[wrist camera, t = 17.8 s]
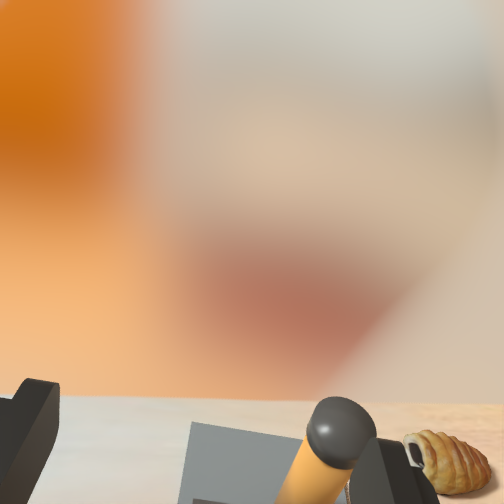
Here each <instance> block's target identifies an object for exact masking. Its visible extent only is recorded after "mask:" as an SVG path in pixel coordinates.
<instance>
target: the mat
mask: <svg viewBox="0 0 504 504" xmlns="http://www.w3.org/2000/svg"><path fill="white" fill-rule="evenodd" d="M302 442H303V440H300V439H294V438H288V437H282V436H276V435H269V434H263V433H257V432H251V431H245V430H239V429H233V428H227V427H221V426H215V425H209V424H202V423H196V422H192V424H191V429H190V435H189V441H188V447H187V453H186V458H185V464H184V470H183V476H182V482H181V487H180V493H179V499H178V504H192V501H193V498H195V499H202V500H208V501H215V502H222V503H228V504H274V502H275V500H276V498H277V496H278V493H279V491H280V489H281V487H282V485H283V483H284V481H285V478H286V476H287V474H288V472H289V470H290V468H291V466H292V464H293V461H294V459H295V457H296V455H297V453H298V451H299V449H300V446H301V444H302ZM334 504H347V501H346V495H345V489H344V488H343V490H342V491H341V493H340V495H339V496H338V498H337V500H336V501H335V503H334Z"/></svg>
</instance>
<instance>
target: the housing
mask: <svg viewBox="0 0 504 504" xmlns="http://www.w3.org/2000/svg"><path fill="white" fill-rule="evenodd" d="M192 504H228V503H222V502H215V501H208V500H202V499H195V498H193V501H192Z"/></svg>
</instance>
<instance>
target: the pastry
mask: <svg viewBox="0 0 504 504" xmlns="http://www.w3.org/2000/svg"><path fill="white" fill-rule="evenodd" d="M403 443H404V447H405V450H406V453H407V456H408V459H409V462H410V465H411V466H416V467H420V468H421V470H422V471H423V473H424V474H425V475H426V477H427V478H428V480H429V481H430V482H431V484H432V485H433V487H434V489H435V491H436V493H438V494H448V495H452V494H462V493H465V492H469V491H474V490H477V489H481V488H482V487H484V486H485V485H486V484H487V483H488V482H489V480H490V478H491V469H490V467H489V465H488V461H487V458H486V457H485V456H484V455H483V454H482V453H481V452H480V451H478V450H477V449H475V448H473V447H472V446H469V445H468V444H467V443H466V442H462V441H459V440H458V439H457V438H456V437H454V436H447V435H446V434H445V433H443V432H438V433H436V434H435V433H433V432H432V431H430V430H422V431H421V432H419V433H412V434H410V435H408V434H407V435H406V436H405V437H404V439H403Z"/></svg>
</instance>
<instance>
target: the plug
mask: <svg viewBox="0 0 504 504" xmlns="http://www.w3.org/2000/svg"><path fill="white" fill-rule="evenodd" d="M376 436H377V433H376V427H375V424H374V422H373V420H372V418H371V417H370V415H369V414H368V413H367V411H366V410H365V409H364V408H362V407H361V406H360V405H359V404H357V403H355V402H354V401H352V400H349V399H347V398H343V397H328V398H325V399H323V400H322V401H320V402H319V403H318V405H317V406H316V408H315V410H314V412H313V414H312V417H311V419H310V421H309V423H308V425H307V431H306V436H305V438H304V440H303V442H302V444H301V446H300V449H299V451H298V453H297V455H296V457H295V459H294V461H293V464H292V466H291V468H290V470H289V472H288V474H287V476H286V478H285V481H284V483H283V485H282V487H281V489H280V491H279V493H278V496H277V498H276V500H275V502H274V504H334V503H335V501H336V500H337V498H338V496H339V495H340V493H341V491H342V490H343V488H344V487H345V485H346V483H347V482H348V480H349V479H350V476H351V473H352V471H353V469H354V467H355V465H356V463H357V461H358V459H359V457H360V455H361V454H362V452H363V450H364V448H365V446H366V444H367V442H368V441H369V439H370V438H372V437H375V438H376Z"/></svg>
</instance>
